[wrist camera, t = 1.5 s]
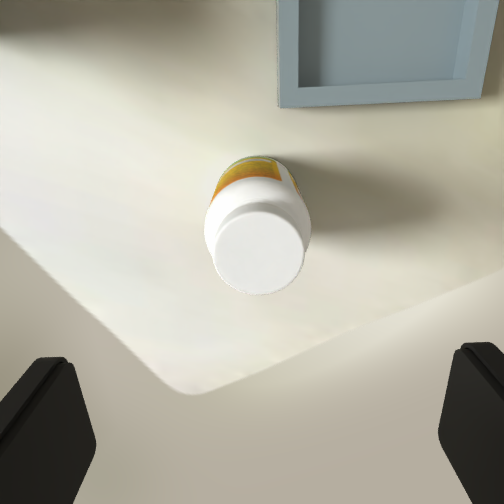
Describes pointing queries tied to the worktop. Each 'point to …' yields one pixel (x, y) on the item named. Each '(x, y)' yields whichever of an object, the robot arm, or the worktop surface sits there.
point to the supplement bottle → (257, 226)
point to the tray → (381, 50)
